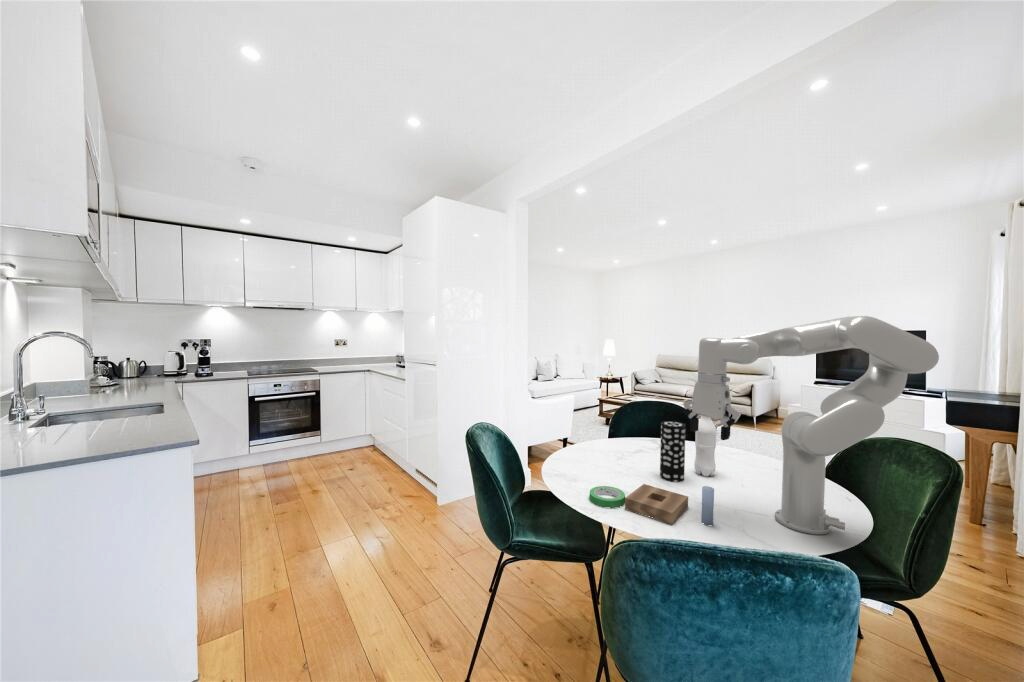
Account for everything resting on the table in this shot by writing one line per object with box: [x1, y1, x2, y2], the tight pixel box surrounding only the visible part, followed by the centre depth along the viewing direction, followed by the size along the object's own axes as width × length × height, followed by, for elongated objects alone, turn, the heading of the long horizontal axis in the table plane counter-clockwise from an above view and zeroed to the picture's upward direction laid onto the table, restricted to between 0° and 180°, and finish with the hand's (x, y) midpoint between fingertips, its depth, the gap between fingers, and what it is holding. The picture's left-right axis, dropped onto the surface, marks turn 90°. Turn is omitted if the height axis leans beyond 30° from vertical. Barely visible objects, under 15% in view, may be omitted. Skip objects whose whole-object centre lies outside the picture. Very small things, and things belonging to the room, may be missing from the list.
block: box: [624, 483, 689, 526], centre depth 116 cm, size 14×14×4 cm
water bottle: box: [693, 415, 717, 477], centre depth 144 cm, size 7×7×25 cm
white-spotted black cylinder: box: [659, 420, 686, 483], centre depth 140 cm, size 8×8×20 cm
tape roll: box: [589, 485, 626, 509], centre depth 122 cm, size 11×11×3 cm
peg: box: [700, 485, 715, 526], centre depth 108 cm, size 3×3×10 cm
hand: (708, 435), depth 115 cm, fingers open, 9 cm apart
